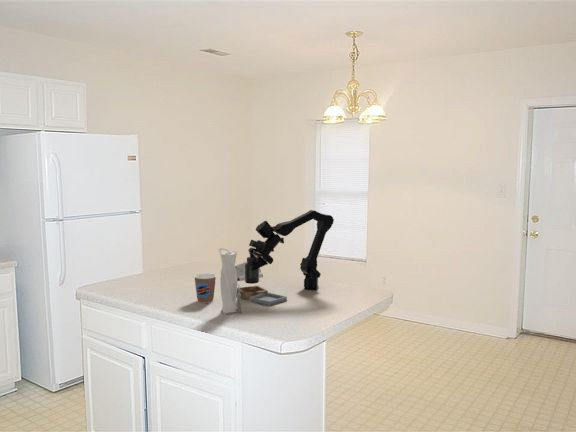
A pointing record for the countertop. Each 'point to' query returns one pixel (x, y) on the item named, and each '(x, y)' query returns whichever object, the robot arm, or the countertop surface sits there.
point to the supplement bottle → (251, 275)
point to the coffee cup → (205, 287)
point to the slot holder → (251, 291)
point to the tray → (268, 299)
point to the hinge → (243, 271)
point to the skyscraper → (229, 283)
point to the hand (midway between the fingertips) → (249, 268)
